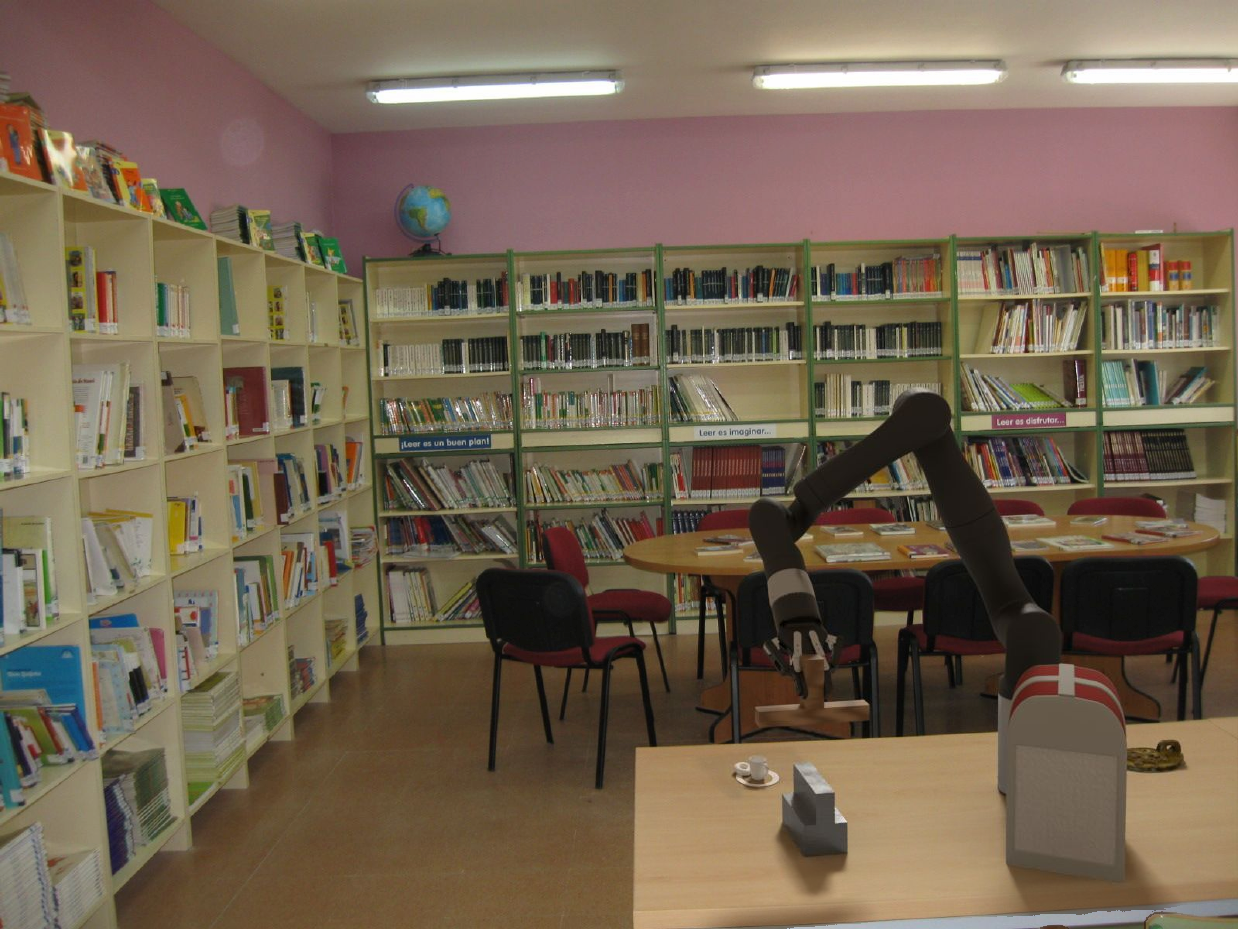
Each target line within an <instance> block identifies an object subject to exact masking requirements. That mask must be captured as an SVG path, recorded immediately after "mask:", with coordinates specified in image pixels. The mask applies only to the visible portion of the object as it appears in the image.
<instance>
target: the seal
mask: <svg viewBox="0 0 1238 929" xmlns="http://www.w3.org/2000/svg"><path fill="white" fill-rule="evenodd" d="M1184 763H1185V756H1184V753H1183V752H1182V746H1181V743H1180V742H1179V740H1176V739H1161V740H1160V741H1159V742H1158V743H1157V745H1156V747H1155V748H1153V747H1141V746H1140V747H1130V748H1128V747H1127V770H1128V769H1129V770H1128V771H1134V770H1137V771H1136V772H1143V771H1147V773H1148V771H1153V772H1154V771H1155V772H1156V771H1158V772H1166V771H1165V770H1167V771H1172V770H1177V769H1179V768H1180V767H1182V766H1183V765H1184ZM1153 772H1152V773H1153Z"/></svg>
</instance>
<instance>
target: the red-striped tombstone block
mask: <svg viewBox="0 0 1238 929" xmlns="http://www.w3.org/2000/svg"><path fill="white" fill-rule="evenodd" d="M1125 719H1126V718H1125V715H1124V710H1123V707H1122V702H1121V698H1120V696H1119V693H1118V691H1117V689H1116V687H1115V686H1114V683H1113V682H1112V681H1111V680H1110V679H1109V677H1107V676H1106V675H1105V674H1103V673H1102V672H1100V671H1098V670H1096V669H1092V668H1087V667H1081V666H1076V665H1075V664H1071V663H1061V664H1059V665H1038V666H1034V667H1032V668H1030V669H1028V670H1027V671H1026V672H1025V673H1024V674H1023V675H1022V676H1021V677H1020V679H1019V680H1018V683H1017V685H1016V687H1015V690H1014V694H1013V698H1012V701H1011V704H1010V709H1009V715H1008V729H1007V780H1006V794H1005V795H1006V798H1005V799H1006V800H1005V801H1006V802H1005V803H1006V805H1005V809H1006V810H1005V813H1006V814H1005V815H1006V816H1005V863H1006V864H1008V865H1011V866H1018V867H1023V868H1030V869H1036V870H1042V871H1046V872H1047V871H1048V872H1054V873H1061V874H1066V875H1072V876H1077V877H1085V878H1090V879H1096V880H1101V881H1108V882H1115V883H1120V884H1121V883H1125V881H1126V880H1125V874H1126V873H1125V872H1126V870H1125V869H1126V834H1127V833H1126V830H1127V829H1126V828H1127V826H1126V825H1127V823H1126V820H1127V785H1128V784H1127V782H1128V781H1127V780H1128V779H1127V777H1128V774H1127V773H1128V769H1127V748H1128V742H1127V725H1126V720H1125Z"/></svg>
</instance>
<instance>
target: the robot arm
mask: <svg viewBox="0 0 1238 929" xmlns="http://www.w3.org/2000/svg"><path fill="white" fill-rule="evenodd" d="M952 416H953V415H952V409H951V407H950V404H949V402H948V401H947V400H946V398H944V396H942V395H941V394H940V393H938V392H936V391H935V390H932V389H931V388H927V387H922V386H917V387H916V386H915V387H910V388H907V389H906V390H904V391H902V392H901V393H900V394H899V395H898V396H897V397H896V399H895V401H894V404H893V406H892V411H891V414H890V415H889V417H888V418H887V419H886V420H884V421H883V423H881V424H880V425H879V426H878V427H877V428H876V429H874V430H873V431H872V432H870V433H869V434H868V435H867V436H865V437H864V438H862V439H861V440H859V441H858V442H855V443H853V445H851V446H849V447H847V448H846V449H843V450H842V451H840V452H838V453H836V454H835V455H833V456H831V457H830V458H828V459H827V460H825V461H824V462H822V463H821V464H819V465H818V466H817V467H815V468H813V469H812V470H811V471H810V472H808V473H806V474H805V475H804V476H803V477H801V478H800V479H799V480H798V481H797V482H796V483H795V484H794V485H793V487H792V491H793V494H794V495H793V496H794V497H795V498H794V500H793V501H792V502H791V504H789V506H788V507H786V506H785V505H784V504H783V503H782V502H781V501H779V500H778V499H776V498H773V497H770V496H769V497H767V496H766V497H765V496H764V497H761V498H759V499H757V500H756V501H754V502H753V503H752V505H751V506H750V509H749V511H748V514H747V524H748V526H747V527H748V528H749V529H748V530H749V533H750V535H751V538H752V540H753V543H754V546H755V547H756V551H757V552H758V554H759V557H760V558H761V560H762V564H763V569H764V574H765V579H766V584H767V589H768V590H767V591H768V592H767V593H768V599H769V600H768V601H769V606H770V608H771V611H772V615H773V616H772V617H773V620H774V621H773V622H774V625H775V629H776V637H774V638H772V639H771V638H767V639H766V640H765V641H764V644H763V647H762V651H763V653H764V654H765V655H766V657H767V658H768V660H769V661H770V662H771V664H772V665H773V666H774V667H775V669H776V671H777V672H778V673H779V675H780V676H781V677H786V676H787V677H790V678H792V680H793V685H794V688H795V689H794V690H795V692H796V693H795V694H796V695H797V696H798V697H800V696H801V699H807V697H808V689H807V685H806V682H805V678H804V674H803V673H802V672H801V670H802V665H801V660H800V655H805V654H819V655H820V656H821V657H822V658H823V659H824V699H828V698H829V697H830V695H831V694H832V692H833V689H834V688H833V687H834V685H833V681H832V678H831V674H834V673H836V671H837V668H838V667H839V666H840V661H841V655H842V651H843V646H844V642H845V637H844V636H843V635H842V634H838V635H837V636H834V635H833V634H828V632H827V630H826V629H825V628H824V626H823V622H822V618H821V614H820V609H819V606H818V602H817V599H816V595H815V591H814V587H813V584H812V581H811V580H810V576H809V575H808V572H807V571H808V570H807V567H806V563H805V558H804V555H803V553H802V552H801V549H800V548H799V547H798V545H797V544H796V543H797V542H798V541H799V540H801V539H802V537H803V536H804V535H805V534H806V533H807V532H808V530H809V529H811V527H812V526H813V525H814V524H815V522H816V521H817V519H818V518H819V517H820V516H821V515H822V514H823V513H824V512H825V511H827V510H828V509H829V508H831V507H833V506H834V505H836V504H837V503H839V501H841V500H842V499H844V498H845V497H846V496H848V495H849V494H850V493H852V492H853V491H854V490H856V489H857V488H859V487H860V486H861V485H862V484H864V483H865V482H866V481H868V480H869V479H870V478H872V477H873V476H874V475H876V474H878V473H879V472H880V471H882V470H884V468H887V467H888V466H890V465H891V464H893V463H894V462H896V461H898V460H899V459H902V458H903V457H905V456H907V455H909V454H911V453H912V454H913V456H914V457H915V459H916V460H917V462H918V465H919V466H920V468H921V471H922V472H923V474H924V475H923V476H924V477H925V480H926V483H927V485H928V488H929V492H930V495H931V497H932V500H933V503H934V505H935V508H936V510H937V512H938V516H939V518H940V520H941V522H942V524H943V526H944V529H945V531H946V533H947V535H948V537H949V540H951V543H952V545H953V547H954V548H955V550H956V552H957V554H958V557H960V560H961V561H962V563H963V565H964V567H965V569H966V570H967V571H968V573H969V575H970V577H971V579H972V580H973V581H974V583H975V584H976V586H977V589H978V592H979V593H980V595H981V598H982V602H983V604H984V606H985V609H986V611H987V615H988V618H989V621H990V623H991V626H992V629H993V633H994V634H995V636H996V638H997V639H998V641H999V643H1000V644H1001V645H1002V647H1004V648H1005V661H1004V662H1005V663H1004V674H1002V675H1001V676H999V678H998V683H997V684H998V696H997V697H998V698H997V700H998V703H997V705H998V706H997V708H998V709H997V712H998V713H997V789H998V790H999V791H1000V792H1001V793H1003V794H1004V795H1006V780H1007V729H1008V715H1009V709H1010V704H1011V701H1012V698H1013V694H1014V690H1015V687H1016V685H1017V683H1018V680H1019V679H1020V677H1021V676H1022V675H1023V674H1024V673H1025V672H1026V671H1027V670H1028V669H1030V668H1032V667H1034V666H1038V665H1059V664H1062V633H1061V627H1060V625H1059V623H1058V622H1057V620H1056V618H1055V617H1054V616H1052V615H1051V614H1050V613H1049V612H1048V611H1045V610H1044V609H1043V608H1041V607H1040V606H1038V604H1037V603H1036V602H1035V601H1034V599H1033V598H1032V596H1031V594H1030V593H1029V591H1028V589H1027V588H1026V586H1025V584H1024V582H1023V580H1022V579H1021V577H1020V575H1019V573H1018V570H1017V568H1016V565H1015V561H1014V556H1013V550H1012V544H1011V540H1010V536H1009V532H1008V530H1007V526H1006V524H1005V522H1004V520H1003V518H1002V516H1001V514H1000V512H999V510H998V508H997V505H996V503H995V501H994V499H993V498H992V497H991V494H990V492H989V491H988V490H987V487H986V486H985V485H984V483H983V481H982V480H981V478H980V477H979V476H978V474H977V473H976V471H975V470H974V468H973V467H972V465H971V464H970V463H969V461H968V460H967V458H966V457H965V456H964V454H963V451H962V450H961V448H960V445H959V444H958V441H957V439H956V436H955V432H954V431H953V428H952V426H951V423H952ZM826 643H827V644H828V648H829V649H830V651H831V653H830V654H831V655H830V658H829V662H828V661H827V658H826V654H825V651H824V649H823V648H824V645H825V644H826ZM780 647H781V648H782V649H783V650H784V651H785V652H786V653H787V654H788V655H789V662H788V660H787V659H786V658H785V656H784V655H783V653H782V652H781V650H780Z"/></svg>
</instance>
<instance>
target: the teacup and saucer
mask: <svg viewBox="0 0 1238 929" xmlns="http://www.w3.org/2000/svg"><path fill="white" fill-rule="evenodd" d="M748 761H749V763H748V762H743V761H741V762H737V763H735V764H734V765H733V770H734V772H735V774H736V775H735V780H736V781H737V782H738V783H740V784H742V785H744V786H749V787H753V788H754V787H755V788H758V787H760V788H762V787H764V788H765V787H770V786H773V785H775V784H777V783H778V782H779V781H780V776H779V774H778V773H776V772H775V771H772V770H770V767H769V765H768V764H767V757H765V756H763V755H751V756H750V757H749V759H748ZM767 775H769V776H771V777H772V779H771V781H769V782H766V783H759V784H756V783H751V782H748V781H746V780H744V779H743V777H748V776H751V778H752V780H755V781H763V780H764V779H765V778H766V776H767Z"/></svg>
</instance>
